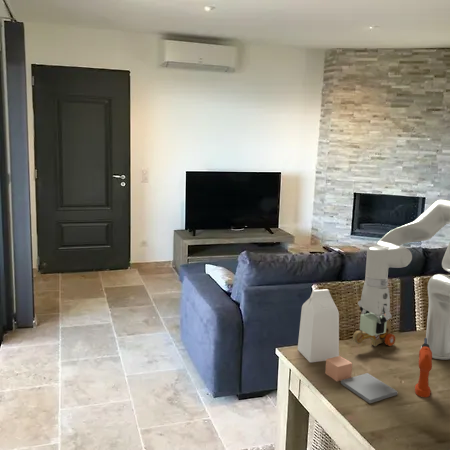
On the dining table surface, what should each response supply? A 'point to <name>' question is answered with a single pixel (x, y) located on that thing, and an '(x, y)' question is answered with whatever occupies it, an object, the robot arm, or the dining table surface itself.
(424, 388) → the toy drill
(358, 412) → the dining table surface
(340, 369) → the terracotta block
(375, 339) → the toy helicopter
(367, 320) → the sage block
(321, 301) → the milk
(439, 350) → the robot arm
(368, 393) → the gray plate
